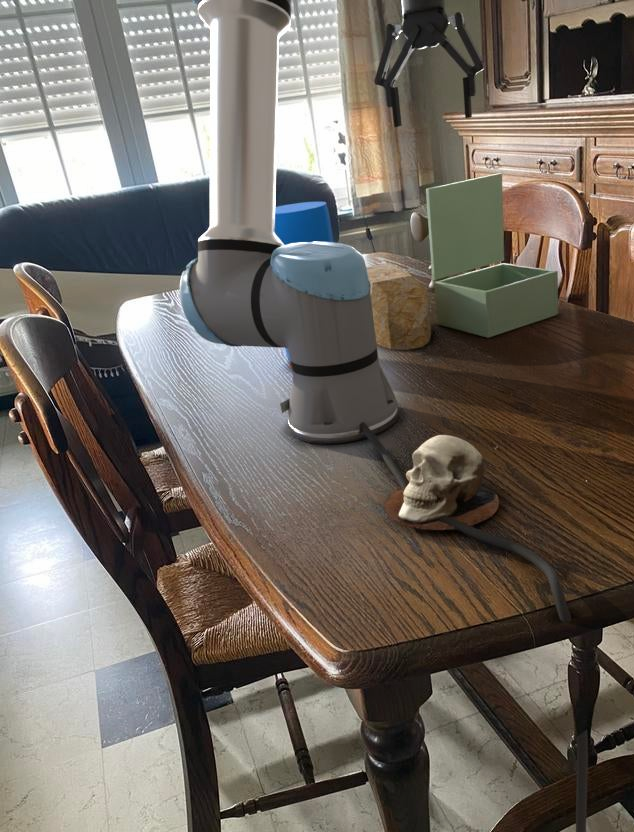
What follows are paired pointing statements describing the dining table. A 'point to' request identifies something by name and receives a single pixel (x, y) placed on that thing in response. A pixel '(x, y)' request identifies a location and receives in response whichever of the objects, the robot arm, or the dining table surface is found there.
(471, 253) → the chest lid
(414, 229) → the kendama
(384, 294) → the bread
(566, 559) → the dining table surface
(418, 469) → the skull
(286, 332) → the robot arm
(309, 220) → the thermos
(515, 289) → the chest
